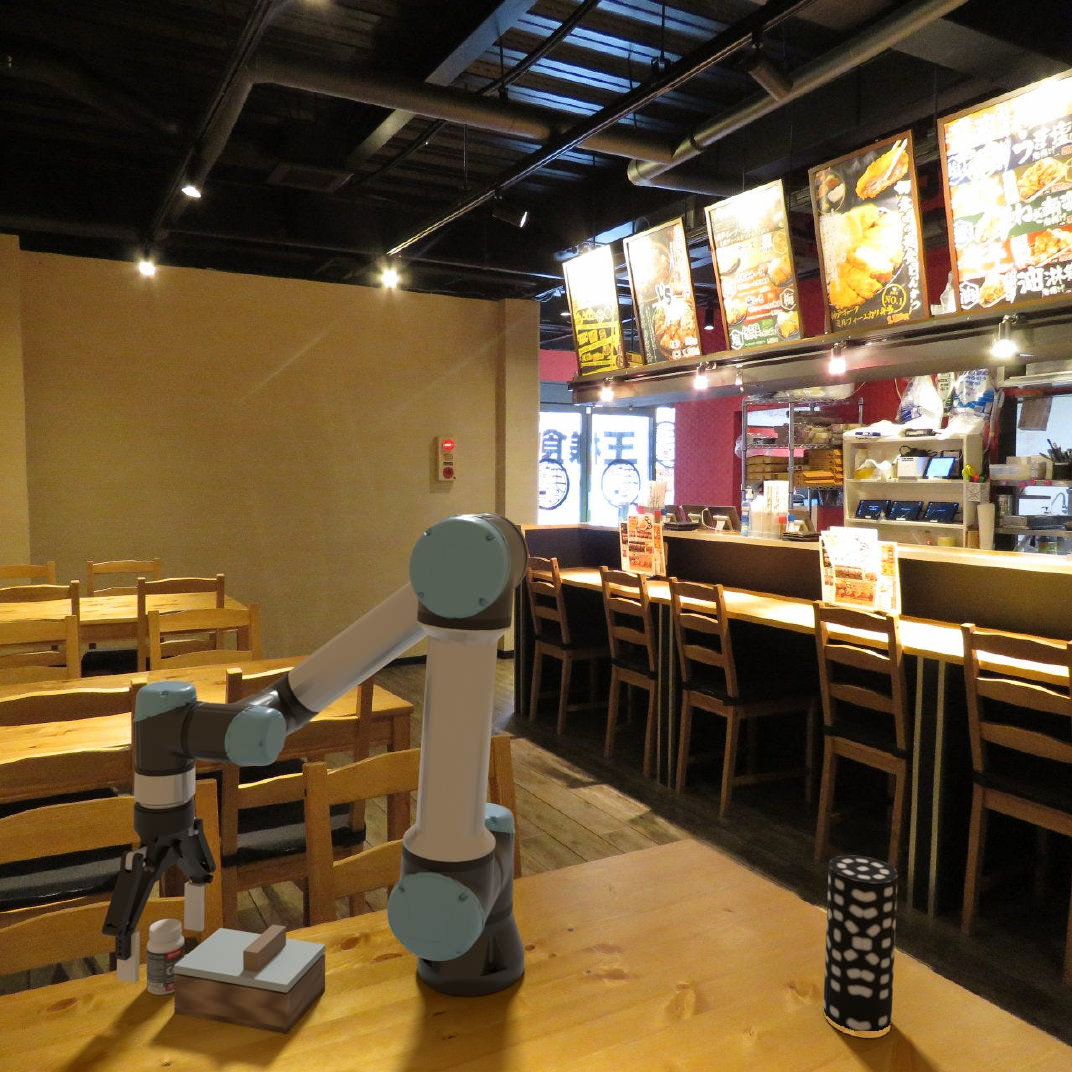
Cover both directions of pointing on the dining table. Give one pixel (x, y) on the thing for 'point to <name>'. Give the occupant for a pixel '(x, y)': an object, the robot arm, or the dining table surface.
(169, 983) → the pill bottle
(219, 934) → the lid
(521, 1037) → the dining table surface
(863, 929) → the white-spotted black cylinder
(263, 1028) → the wooden box
